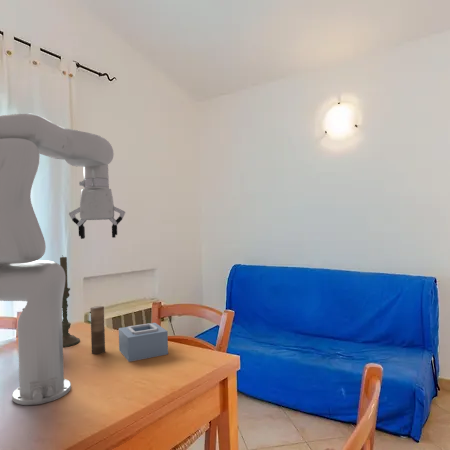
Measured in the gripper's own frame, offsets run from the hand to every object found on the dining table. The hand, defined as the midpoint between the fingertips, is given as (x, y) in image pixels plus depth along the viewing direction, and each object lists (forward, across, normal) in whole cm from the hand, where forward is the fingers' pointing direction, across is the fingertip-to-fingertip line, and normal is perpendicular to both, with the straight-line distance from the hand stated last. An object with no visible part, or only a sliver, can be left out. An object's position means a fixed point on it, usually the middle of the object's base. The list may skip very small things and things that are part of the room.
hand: (98, 238), depth 123 cm
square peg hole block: (+36, +13, -7) cm, 39 cm away
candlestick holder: (+36, -13, +9) cm, 39 cm away
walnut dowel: (+36, -1, -4) cm, 36 cm away
